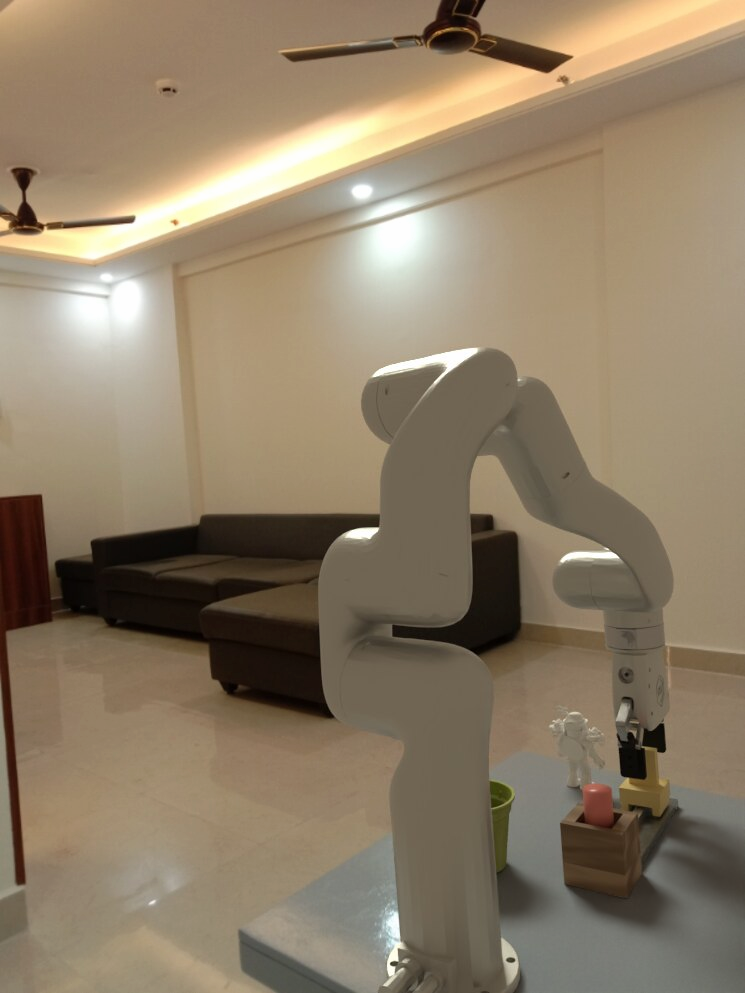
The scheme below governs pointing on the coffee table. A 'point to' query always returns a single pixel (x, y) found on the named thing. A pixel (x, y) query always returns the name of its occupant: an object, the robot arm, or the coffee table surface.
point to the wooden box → (601, 852)
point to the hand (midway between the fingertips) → (644, 763)
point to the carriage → (646, 788)
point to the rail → (652, 825)
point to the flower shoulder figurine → (577, 746)
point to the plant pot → (500, 819)
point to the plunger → (598, 805)
